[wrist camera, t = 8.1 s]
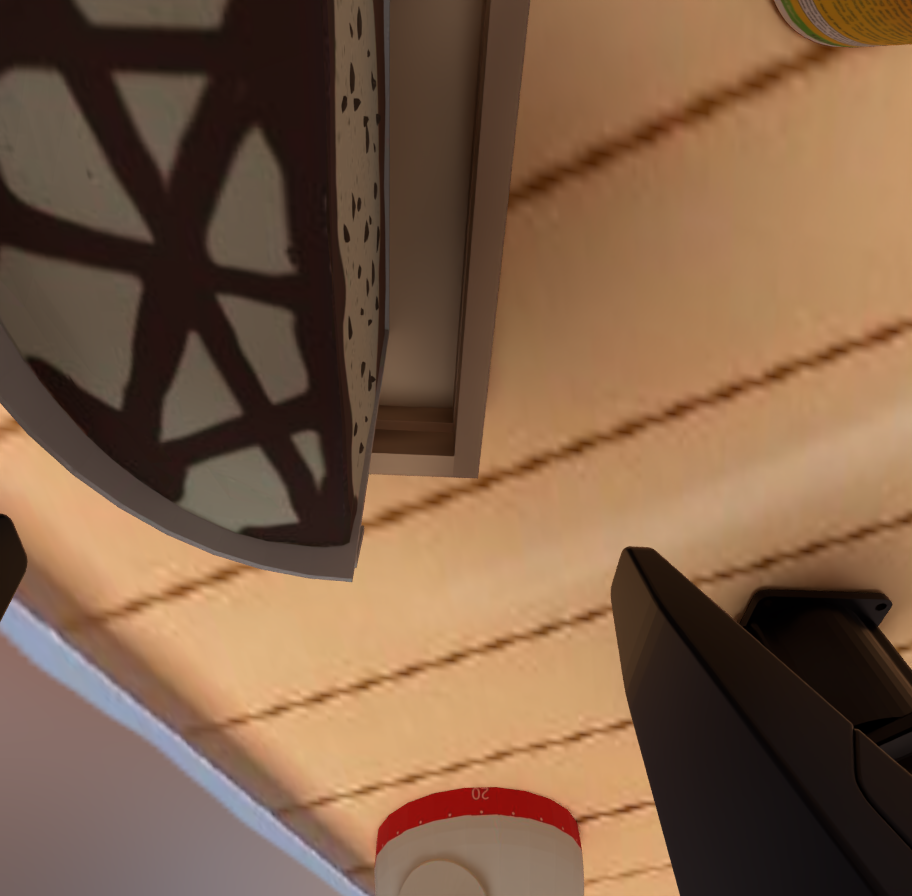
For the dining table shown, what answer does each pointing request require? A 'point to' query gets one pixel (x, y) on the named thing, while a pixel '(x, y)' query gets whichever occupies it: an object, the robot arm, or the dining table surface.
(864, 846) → the robot arm
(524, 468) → the dining table surface
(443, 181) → the tray
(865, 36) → the supplement bottle
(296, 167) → the food container
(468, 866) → the kitchen timer
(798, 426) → the dining table surface
